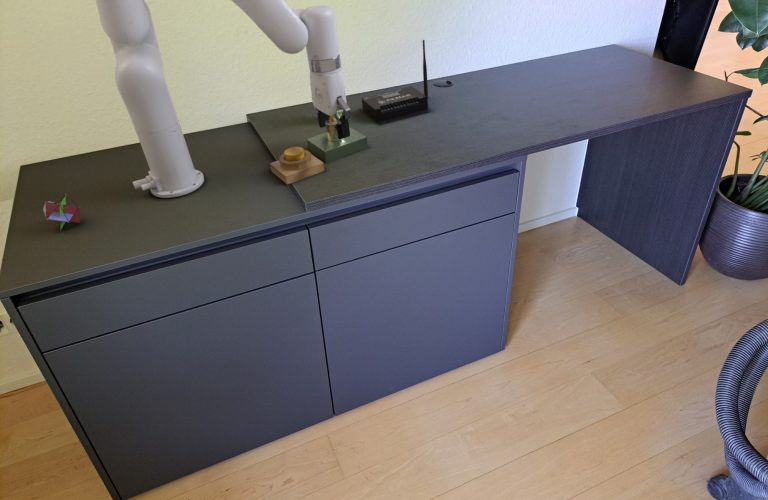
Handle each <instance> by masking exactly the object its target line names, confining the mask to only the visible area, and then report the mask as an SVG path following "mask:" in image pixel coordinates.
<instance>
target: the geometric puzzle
mask: <svg viewBox="0 0 768 500" xmlns="http://www.w3.org/2000/svg"><path fill="white" fill-rule="evenodd" d="M57 198H60V196H59V197H57ZM66 198H68V199H69V200H70V201H71V202H72V203H74V205H71V204H67V199H66ZM42 211H43V213H44V216H45V219H46V220H48V221H55V222H59V227H60V228H58V230H59V232H61V231H62V230H66V229H67V228H66V226H67V225H68V224H70V223H71V224H74V225H72V227H75V224H81V206H79V205H77V203H75V202H74V201H73V200H72V199H71V198H70V197H69V196H68V195H67V194H64V195H63V197H62V198H61V199H60V200H59V201H58V202H54V201H52V200H47V201H44V206H43V208H42ZM51 224H52V225H53V226H55V224H54V223H53V222H51Z"/></svg>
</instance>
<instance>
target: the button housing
mask: <svg viewBox="0 0 768 500" xmlns="http://www.w3.org/2000/svg"><path fill="white" fill-rule="evenodd" d="M304 155H305V157H304V158H303V159H301V160H298V161H286V159H285V154H284V152H283V153H282V154H281V155H279V157H278V160H275V161H272V162H270V163H269V166H270V171H271V172H272V173H273V174H274V175H275V176H276V177H277V178H279V179H280V180H281V181H282V182H283V183H285V184H286V185H290V184H292V183H296V182H299V181H301V180H303V179H306V178H309V177H312V176H314V175H318V174H320V173H323V172H325V163H324V162H323V161H322V160H320V159H319V158H317V157H316V155H313V153H312V152H311V151H310V150H308V149H304Z"/></svg>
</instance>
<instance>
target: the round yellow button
mask: <svg viewBox="0 0 768 500" xmlns="http://www.w3.org/2000/svg"><path fill="white" fill-rule="evenodd" d="M304 150H305V149H304V148H303V147H301V146H293V147H288V148H287V149H284V152H283V153H284V154H285V159H286V161H298V160H301V159H303V158H304V157H305V155H304Z"/></svg>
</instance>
